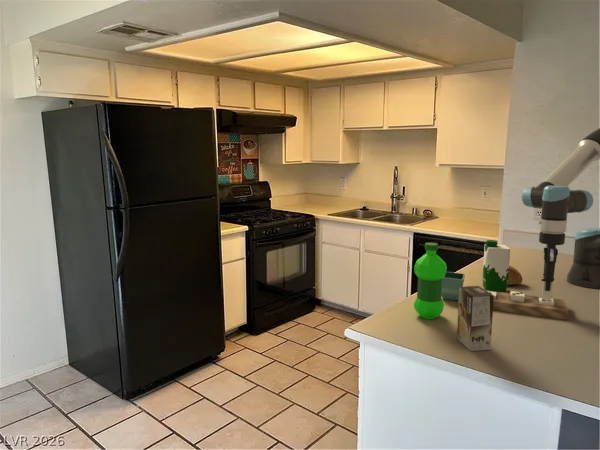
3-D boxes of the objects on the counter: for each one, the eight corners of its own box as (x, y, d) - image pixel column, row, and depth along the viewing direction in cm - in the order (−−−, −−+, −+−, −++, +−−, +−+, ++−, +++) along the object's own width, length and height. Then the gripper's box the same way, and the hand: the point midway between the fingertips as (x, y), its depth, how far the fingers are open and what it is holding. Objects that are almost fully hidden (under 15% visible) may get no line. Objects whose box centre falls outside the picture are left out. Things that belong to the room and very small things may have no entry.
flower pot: (463, 295, 167) (465, 273, 166) (461, 303, 159) (463, 279, 158) (440, 293, 171) (441, 270, 169) (437, 299, 163) (438, 276, 162)
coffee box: (491, 350, 122) (495, 295, 119) (469, 351, 121) (472, 296, 119) (475, 336, 131) (479, 285, 128) (455, 337, 130) (458, 286, 128)
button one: (495, 301, 159) (496, 291, 159) (495, 305, 156) (496, 295, 155) (482, 299, 161) (483, 290, 161) (482, 303, 157) (482, 293, 157)
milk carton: (480, 286, 179) (483, 238, 175) (503, 287, 177) (507, 239, 173) (484, 293, 170) (487, 243, 167) (509, 294, 168) (513, 243, 165)
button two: (552, 308, 152) (553, 298, 151) (553, 312, 148) (554, 302, 147) (537, 306, 154) (538, 296, 153) (538, 310, 150) (539, 300, 149)
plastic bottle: (434, 309, 153) (437, 240, 149) (450, 320, 143) (454, 246, 139) (407, 311, 151) (410, 241, 147) (422, 323, 141) (425, 248, 137)
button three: (523, 302, 155) (524, 292, 155) (523, 306, 152) (524, 295, 151) (509, 300, 157) (510, 290, 157) (509, 304, 153) (510, 294, 153)
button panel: (563, 307, 154) (564, 299, 153) (567, 319, 143) (568, 311, 142) (472, 296, 166) (473, 288, 166) (469, 306, 156) (470, 298, 155)
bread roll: (520, 288, 175) (522, 269, 174) (481, 283, 183) (482, 265, 181) (522, 282, 183) (524, 264, 182) (484, 277, 191) (486, 259, 190)
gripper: (538, 227, 153) (533, 292, 157) (540, 234, 142) (534, 303, 146) (563, 229, 150) (557, 294, 154) (567, 236, 139) (560, 306, 143)
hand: (546, 298), depth 150 cm, fingers closed
